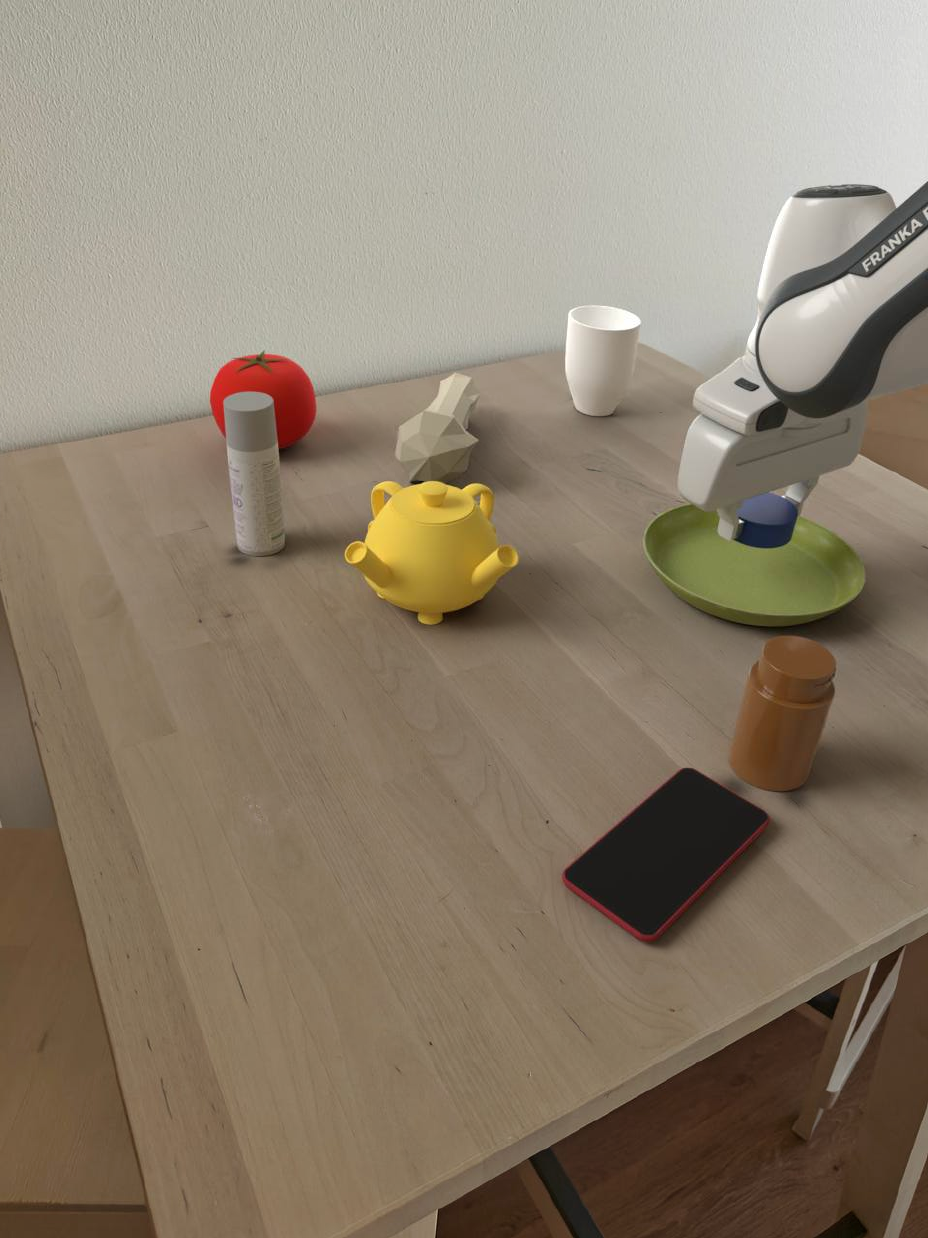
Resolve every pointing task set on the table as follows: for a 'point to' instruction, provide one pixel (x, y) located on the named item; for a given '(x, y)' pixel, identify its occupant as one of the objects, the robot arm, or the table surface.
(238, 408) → the container
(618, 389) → the mug
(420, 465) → the faceted club
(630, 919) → the smartphone
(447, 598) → the teapot
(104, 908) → the table surface
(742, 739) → the jar
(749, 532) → the jar lid
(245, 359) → the tomato
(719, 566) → the saucer
